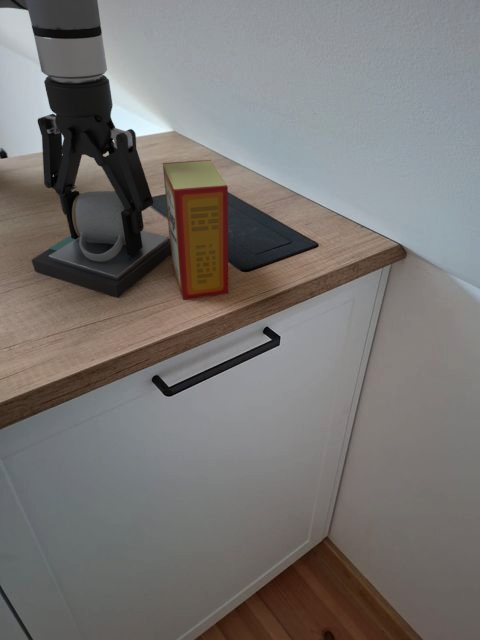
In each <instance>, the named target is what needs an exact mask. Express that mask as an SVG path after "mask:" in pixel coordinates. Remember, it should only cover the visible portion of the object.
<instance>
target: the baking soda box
mask: <svg viewBox="0 0 480 640" xmlns="http://www.w3.org/2000/svg"><path fill="white" fill-rule="evenodd" d="M162 170H163V180H164V181H163V182H164V192H165V200H166V201H165V203H166V213H167V224H168V236H169V239H170V247H171V255H170V256H171V266H172V269H173V272H174V275H175V276H174V277H175V279H176V281H177V285H178V288H179V291H180V294H181V297H182V300H190V299H197V298H198V299H199V298H204V297H210V296H211V297H212V296H220V295H226V294H229V190H228V189H229V186H228V185H227V183H226V181H225V180H224V178H223V176H222V175H221V174H220V172H219V171H218V169H217V167H216V166H215V164H214V163H213V161H212V160H211V159H201V160H189V161H188V160H187V161H173V162H162Z"/></svg>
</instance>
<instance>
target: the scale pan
mask: <svg viewBox="0 0 480 640" xmlns="http://www.w3.org/2000/svg"><path fill="white" fill-rule="evenodd" d="M168 238H169V237H167V236H165V235H161V234H156V233H153V232H149V231H145V230H142V231H141V239H142V247H143V248H142V249H140V250H139V251H138V252H136V253H135V254H133V255H132V256H131V255H127V248H126V245H123V246H122V248H121V250H120V251H119V253H118V254H117V255H116V256H115V257H113V258H112V259H110V260H107V261H102V262H101V261H93V260H90V259H89V258H87V257H86V256H85V255H84V254H83V252H82V250H81V248H80V244H79V241H80V240H79V239H80V237H79V238H77V239H76V240H74V241H72V242H70V243H69V244H67V245H65V246H64V247H62V248H61V249H59V250H57V251H56V252H54V253H52V254H51V255H49V259H50V261H53V262H57V263H60V264H63V265H66V266H70V267H73V268H76V269H80V270H83V271H86V272H89V273H93V274H96V275H99V276H103V277H106V278H109V279H112V280H116V281H118V280H119V279H121V278H122V277H123V276H124V275H126V274H127V273H128V272H130V271H131V270H132V269H134V268H135V267H136V266H137V265H139V264H140V263H141V262H143V261H144V260H145V259H147V258H148V257H149V256H150V255H152V254H153V253H154V252H156V251H157V250H158V249H160V248H161V247H162V246H163V245H165V244H166V243H167V242H168ZM114 245H115V244H107V243H92V242H87V241H86V243H85V250H87V251H88V252H91V253H93V254H102V253H105V252H106V251H109V250H110V249H111V248H112V247H113V246H114Z"/></svg>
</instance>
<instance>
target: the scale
mask: <svg viewBox="0 0 480 640" xmlns="http://www.w3.org/2000/svg"><path fill="white" fill-rule="evenodd" d="M74 240H75V239H72V238H71V234H70V235H68V236H67V237H65V238H63V239H62V240H60V241H59V242H57V243H55V244H53V245H52V246H50V247H49V248H48V249H47V250H45V251H43V252H42V253H40V254H39V255H36V256H34V257H33V258H31V263H32V266H33V269H34V272H35V273H39V274H42V275H45V276H48V277H52V278H54V279H58V280H61V281H63V282H68V283H70V284H74V285H77V286H80V287H82V288H86V289H89V290H93V291H96V292H99V293H102V294H105V295H108V296H112V297H115V298H120V297H121V296H122V295H123V294H124V293H126V292H127V291H128V290H130V289H131V288H132V287H133V286H135V285H136V284H137V283H138V282H139V281H140V280H142V279H143V278H145V276H147V275H148V274H149V273H150V272H152V271H153V270H154V269H156V268H157V267H158V266H160V265H161V264H162V263H163V262H164V261H165V260H167V259H168V258H169V257H170V256H171V247H170V237H168V242H167V243H166V244H165V245H163V246H162V247H161V248H160V249H158V250H157V251H156V252H154V253H153V254H152V255H150V256H149V257H148V258H147V259H145V260H144V261H143V262H141V263H140V264H139V265H137V266H136V267H135V268H134V269H132V270H131V271H130V272H128V273H127V274H126V275H124V276H123V277H122V278H121V279H119V280H118V281H116V280H112V279H109V278H106V277H103V276H99V275H96V274H93V273H89V272H86V271H83V270H80V269H76V268H73V267H70V266H66V265H63V264H60V263H57V262H53V261H50V259H49V255H51V254H52V253H54V252H56V251H57V250H59V249H61V248H62V247H64V246H65V245H67V244H69V243H70V242H72V241H74Z"/></svg>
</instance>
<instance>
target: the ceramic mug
mask: <svg viewBox="0 0 480 640" xmlns="http://www.w3.org/2000/svg"><path fill="white" fill-rule="evenodd" d="M131 202H132V200H131ZM124 210H125V208H124V206H123V204H122V203H121V201H120V199H119V197H118V195H117V194H116V192H115V190H110V191H109V190H108V191H86V192H82V193H79V195H78V196H77V197H76V198H75V200H74V203H73V208H72V220H73V225H74V229H75V231H76V233H77V235H78V236H79V237H80V239H79V240H80V241H79V244H80V248H81V250H82V252H83V254H84V255H85V256H86V257H87V258H89V259H90V260H93V261H101V262H102V261H107V260H110V259H112V258H113V257H115V256H116V255H117V254H118V253H119V251H120V250H121V248H122V246H123V245H126V242H125V235H124V229H123V223H122V216H121V212H122V211H124ZM86 241H87V242H92V243H107V244H115V245H114V246H113V247H112V248H111V249H110V250H109V251H106V252H105V253H102V254H93V253H91V252H88V251H87V250H85V243H86Z"/></svg>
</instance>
